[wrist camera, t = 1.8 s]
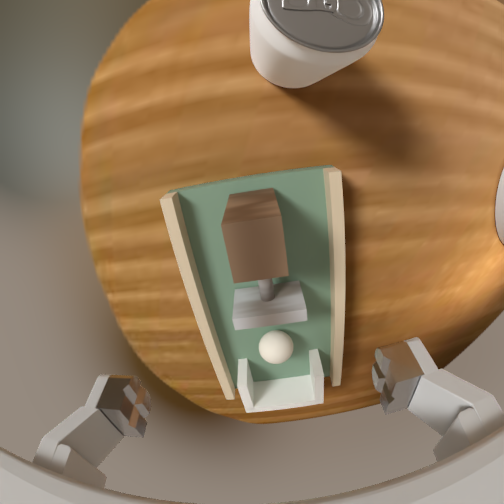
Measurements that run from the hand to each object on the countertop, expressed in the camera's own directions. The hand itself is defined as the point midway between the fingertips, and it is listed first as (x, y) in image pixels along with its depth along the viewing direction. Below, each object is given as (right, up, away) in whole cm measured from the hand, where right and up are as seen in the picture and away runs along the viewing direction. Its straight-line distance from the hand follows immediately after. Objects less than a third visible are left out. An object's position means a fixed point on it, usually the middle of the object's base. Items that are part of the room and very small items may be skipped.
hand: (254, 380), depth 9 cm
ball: (+2, -5, +19) cm, 20 cm away
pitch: (+2, -1, +20) cm, 20 cm away
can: (+3, +20, +10) cm, 23 cm away
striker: (+1, +5, +16) cm, 17 cm away
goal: (+3, -10, +23) cm, 26 cm away
